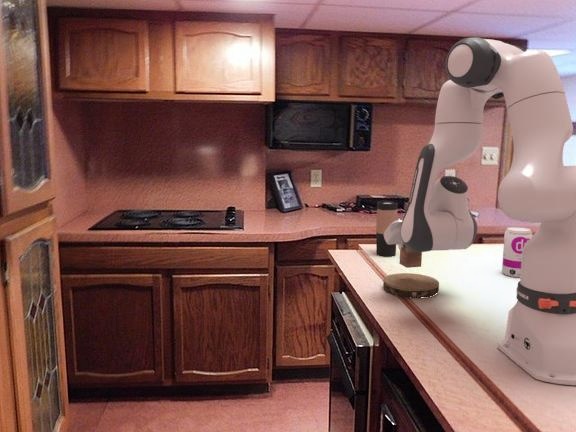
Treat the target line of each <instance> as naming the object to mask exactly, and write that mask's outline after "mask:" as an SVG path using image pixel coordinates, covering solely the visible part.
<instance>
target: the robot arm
mask: <svg viewBox="0 0 576 432" xmlns="http://www.w3.org/2000/svg"><path fill="white" fill-rule="evenodd" d="M445 72H446V76H447V77H448V80H447V81H445V82H444V83H443V84H442V86H441V88H440V91H439V95H438V99H437V102H436V109H435V115H434V116H435V117H434V118H435V119H434V129H433V134H432V137H431V139H430V141H429V143H428V144H427V145H425V146H423V147H422V149H421V151H420V152H419V155H418V158H417V162H416V165H415V166H416V167H415V169H414V175H413V180H412V184H411V189H410V194H409V197H408V201H407V202H408V203H407V207H406V211H405V214H404V216H403V218H402V219H397V221H394V222H393V223H392V224H390V226H389V227H388V228H387V229H386V230H385V232H384V238H385V241H386V243H387V244H389V245H391V244H396V245H397V247H398V249H399V251H400V249H405V247H406V246H407V247H408V248H409V249H410V250H412V251H413V252H415V253H419V252H422V253H425V252H431V251H432V252H433V251H454V250H456V251H457V250H467V249H469V248H470V247H471V246H472V245H473V243H474V241H475V240H476V237H477V234H478V230H479V228H478V223H477V220H476V218H475V217H474V215H473V214H472V211H470V209H469V205H468V196H469V187H468V184H467V183H466V182H465V181H464V180H463V179H462V178H459V177H456V176H453V175H443V176H440V177H439V178H438V179H437V177H438V176H439V175H440V173H441V172H442V171H443V170H445V169H447V168H448V167H451V166H454V165H456V164H458V163H461V162H463V161H466V160H467V159H469V158H470V157H471V156H473V155H474V154H475V153H476V152H477V151H478V149H479V148H480V145H481V142H482V138H483V127H484V126H483V125H484V110H485V109H484V107H485V104H486V102H487V101H488V100H489V99H490V98H493V99H494V100H500V99H501V98H503V97H504V101H505V106H506V110H507V115H508V119H509V120H508V121H509V124H510V125H509V126H510V129H511V136H512V141H513V142H512V143H513V155H512V162H511V165H510V169H509V171H508V173H507V174H506V175H505V177H504V178H503V179H502V181H500V184H499V186H498V189H497V201H498V205H499V206H500V209H501V212H502V213H503V214H504V215H505V216H506V217H508V218H509V219H511V220H513V221H514V220H515V221H518V222H519V221H520V222H525V223H530V224H531V223H532V224H533V223H534V224H536V223H537V224H538V223H540V224H539V226H538V227H537V230H536V231H535V233H534V234H533V237H532V238H531V239H529V240H528V241H527V242H526V244H525V245H524V247H523V250H522V262H521V275H520V278H519V281H518V282H517V286H516V300H517V301H516V303H515V304H514V306H513V307H512V308H510V310H509V311H508V315H507V319H506V320H507V321H506V328H505V329H506V330H505V336H504V339H503V340H500V341H498V343H497V348H498V350H500V351H501V352H502V353H504V355H506V357H508V358H509V359H510V360H512V361H513V362H514V363H515V364H517V366H519V367H520V368H521V369H523V371H524V372H527V373H528V374H529V375H530V376H531V377H532V378H533V379H536V380H538V381H542V382H547V383H552V384H557V385H569V386H576V165H564V161H563V160H564V159H563V156H564V155H563V154H564V147H565V144H566V143H567V142H568V141H569V140H570V139H571V137H572V135H573V133H574V123H573V122H572V116H571V112H570V109H569V105H568V100H567V95H566V93H565V92H566V91H565V88H564V85H563V82H562V79H561V76H560V74H559V72H558V69H557V67H556V65H555V63H554V61H553V59H552V57H551V56H550V55H549V53H547V52H545V51H543V50H539V49H530V50H526V49H524V48H522V47H520V46H518V45H512V44H510V43H506V42H503V41H501V40H497V39H496V40H495V39H489V38H488V39H487V38H481V37H477V36H476V37H475V36H473V37H467V38H462V39H460V40H458V41H457V42H456V43H454V45H452V47H451V48H450V50H449V52H448V54H447V55H446V59H445Z"/></svg>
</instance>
